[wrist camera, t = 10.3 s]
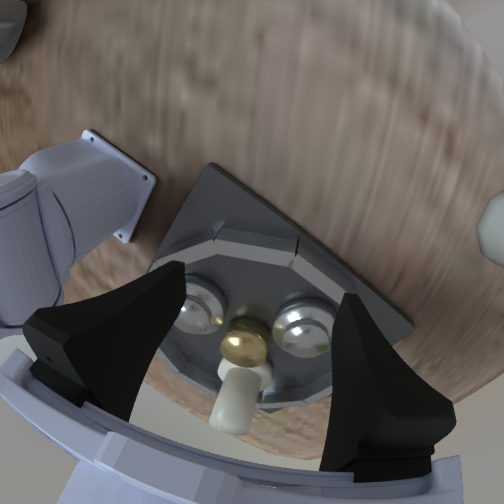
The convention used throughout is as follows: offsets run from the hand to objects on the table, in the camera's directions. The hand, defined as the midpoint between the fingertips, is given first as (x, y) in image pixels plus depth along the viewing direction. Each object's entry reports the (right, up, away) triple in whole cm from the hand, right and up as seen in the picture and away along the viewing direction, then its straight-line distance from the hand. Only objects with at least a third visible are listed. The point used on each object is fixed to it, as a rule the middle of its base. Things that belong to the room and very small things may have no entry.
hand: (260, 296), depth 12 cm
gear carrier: (-1, -6, +16) cm, 17 cm away
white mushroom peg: (-1, -11, +18) cm, 21 cm away
